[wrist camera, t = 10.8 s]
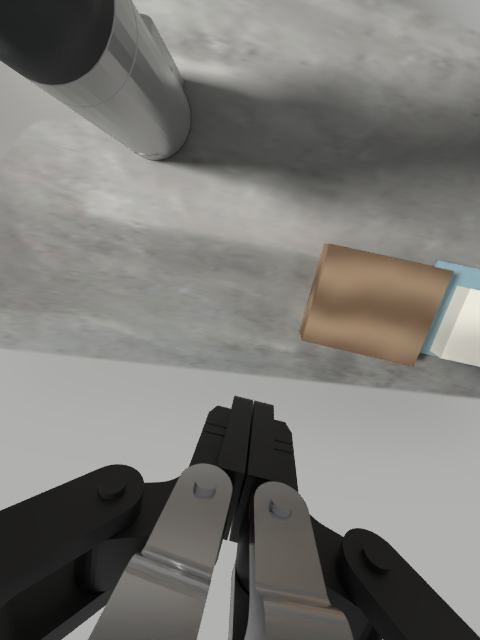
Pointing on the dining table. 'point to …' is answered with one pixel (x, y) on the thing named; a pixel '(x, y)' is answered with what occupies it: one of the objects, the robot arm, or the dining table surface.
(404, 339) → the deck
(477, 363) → the white bevelled block
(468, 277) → the mat
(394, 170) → the dining table surface
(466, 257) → the dining table surface
